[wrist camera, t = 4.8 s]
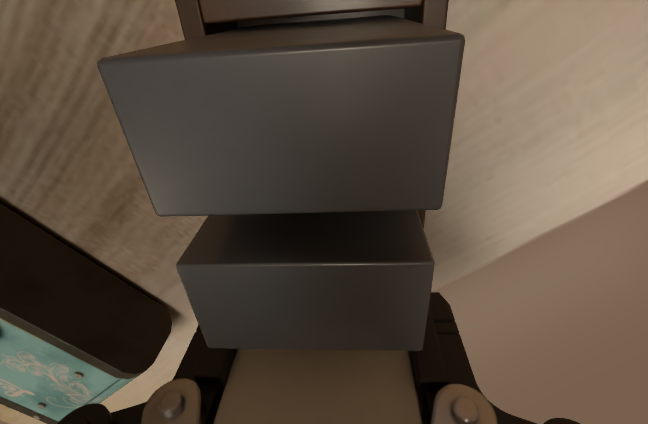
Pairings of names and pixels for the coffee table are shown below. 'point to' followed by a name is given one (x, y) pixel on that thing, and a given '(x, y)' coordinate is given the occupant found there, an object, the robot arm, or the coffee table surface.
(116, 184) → the coffee table surface
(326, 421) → the beige rectangular block
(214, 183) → the brown rack
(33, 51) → the coffee table surface
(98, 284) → the camera
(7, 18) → the coffee table surface
